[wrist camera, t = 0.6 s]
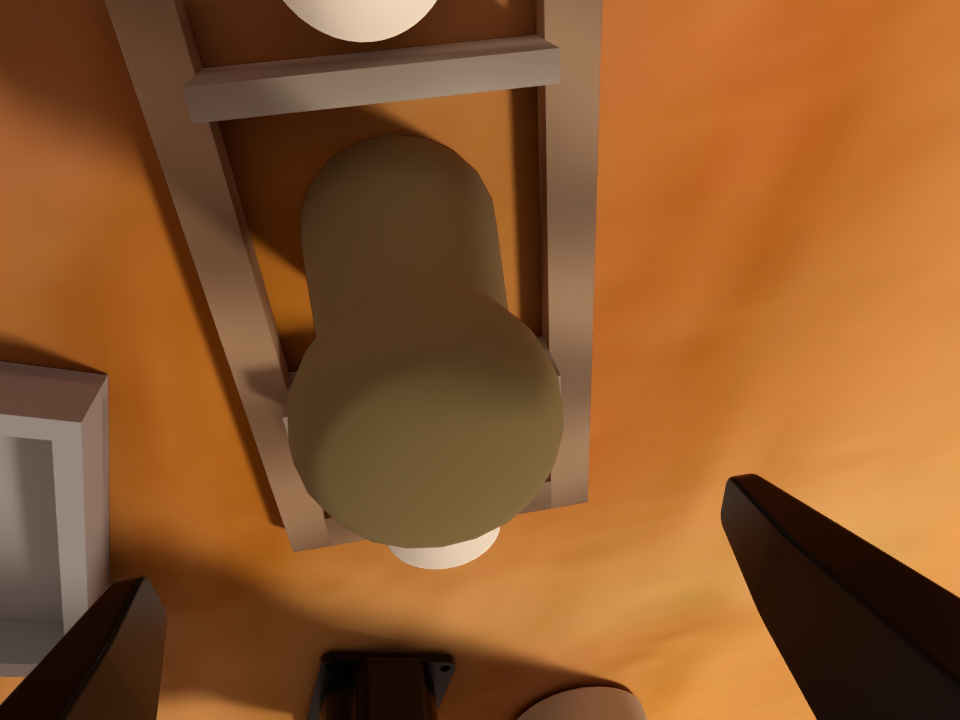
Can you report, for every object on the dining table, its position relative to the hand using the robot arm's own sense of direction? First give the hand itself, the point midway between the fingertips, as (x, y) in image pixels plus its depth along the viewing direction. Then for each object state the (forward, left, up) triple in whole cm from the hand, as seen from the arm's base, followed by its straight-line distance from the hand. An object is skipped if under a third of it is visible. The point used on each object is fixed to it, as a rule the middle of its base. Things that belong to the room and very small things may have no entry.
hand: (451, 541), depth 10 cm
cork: (0, 0, -13) cm, 13 cm away
